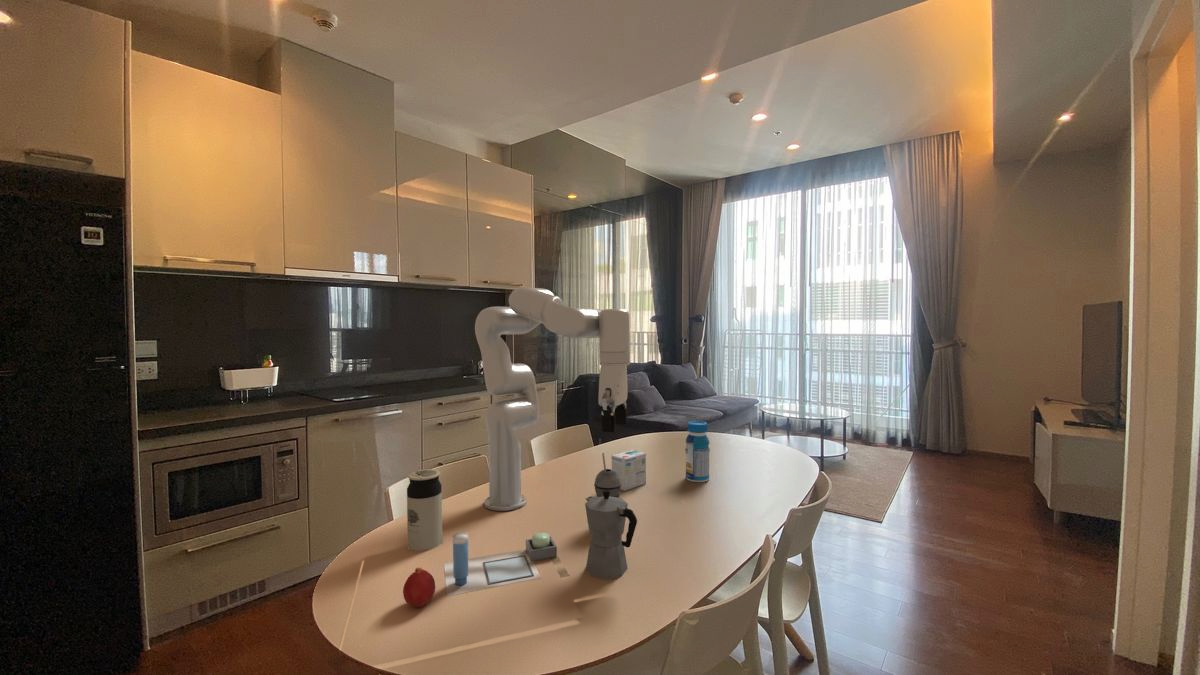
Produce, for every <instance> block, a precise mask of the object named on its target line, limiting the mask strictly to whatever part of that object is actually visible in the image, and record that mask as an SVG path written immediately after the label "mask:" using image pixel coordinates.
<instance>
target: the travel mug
mask: <svg viewBox="0 0 1200 675" xmlns="http://www.w3.org/2000/svg"><path fill="white" fill-rule="evenodd" d="M440 475H441V471H439V469H434V468H433V469H430V468H429V469H420V470H418V469H417V470H415V471H413V472H410V473H409V474H408V475H407V478H408V479H409V484H408V486H407V488H406V508H407V509H406V510H407V511H406V512H407V513H406V514H407V515H406V518H407V520H406V522H407V549H408V548H409V549H408V550H411V551H413V550H414V551H415V552H424V551H430V550H433V549H435V548H437V547H439V546H440V545H442V544H443V506H442V505H443V501H442V500H443V499H442V498H443V496H442V492H443V491H442V483H441V482H440V480H439V478H440Z"/></svg>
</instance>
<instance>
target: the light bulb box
mask: <svg viewBox="0 0 1200 675" xmlns="http://www.w3.org/2000/svg"><path fill="white" fill-rule="evenodd" d="M646 454H647V453H646V452H644V451H639V450H634V449H630V450H627V451H624V452H620V453H617V454H611V470H613V471H615V472H616V473H617V474H618V476H619V478H620V483H621V486H620V491H625V492H626V491H629V490H631V489H634V488H637V487H640V486H643V485H646V484H647V461H646V460H647V455H646Z"/></svg>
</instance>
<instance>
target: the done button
mask: <svg viewBox="0 0 1200 675" xmlns="http://www.w3.org/2000/svg"><path fill="white" fill-rule="evenodd" d="M550 536H551V535H550V534H549V533H547V532H537V533H534V534H533V535H532V537H531V539H532V548H533V549H539V548H545V547H550Z"/></svg>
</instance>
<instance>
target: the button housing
mask: <svg viewBox="0 0 1200 675" xmlns="http://www.w3.org/2000/svg"><path fill="white" fill-rule="evenodd" d="M549 536H550V547H545V548H539V549H533V548H532V538H529V539H527V538H526V539H525V549H526V552H527V554H528V556H529V558H530V561H531V562H534V563H535V562H539V561H544V560H546V561H547V560H551V559H552V558H557V555H558V552H557V549H558V546H557V544H556V543H555V541H554V540H553V537H552V535H549Z"/></svg>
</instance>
